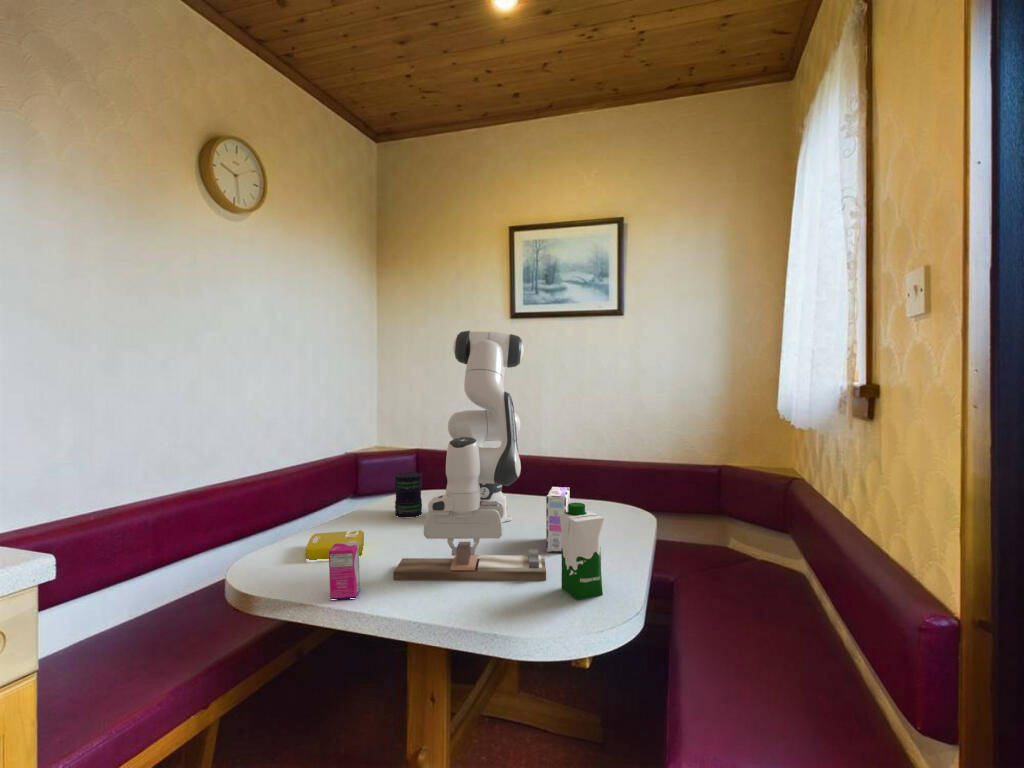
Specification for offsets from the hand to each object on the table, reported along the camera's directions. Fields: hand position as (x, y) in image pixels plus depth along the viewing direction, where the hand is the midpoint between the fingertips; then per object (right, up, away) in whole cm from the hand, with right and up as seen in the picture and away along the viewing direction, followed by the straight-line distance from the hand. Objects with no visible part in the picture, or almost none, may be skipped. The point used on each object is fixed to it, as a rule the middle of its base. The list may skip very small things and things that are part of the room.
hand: (463, 554), depth 134 cm
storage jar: (-26, -5, +58) cm, 64 cm away
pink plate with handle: (0, -2, 0) cm, 2 cm away
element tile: (-39, -5, +17) cm, 43 cm away
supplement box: (-26, -5, -14) cm, 30 cm away
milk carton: (+29, -5, -13) cm, 32 cm away
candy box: (+26, -5, +21) cm, 34 cm away
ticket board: (+2, -5, 0) cm, 5 cm away
